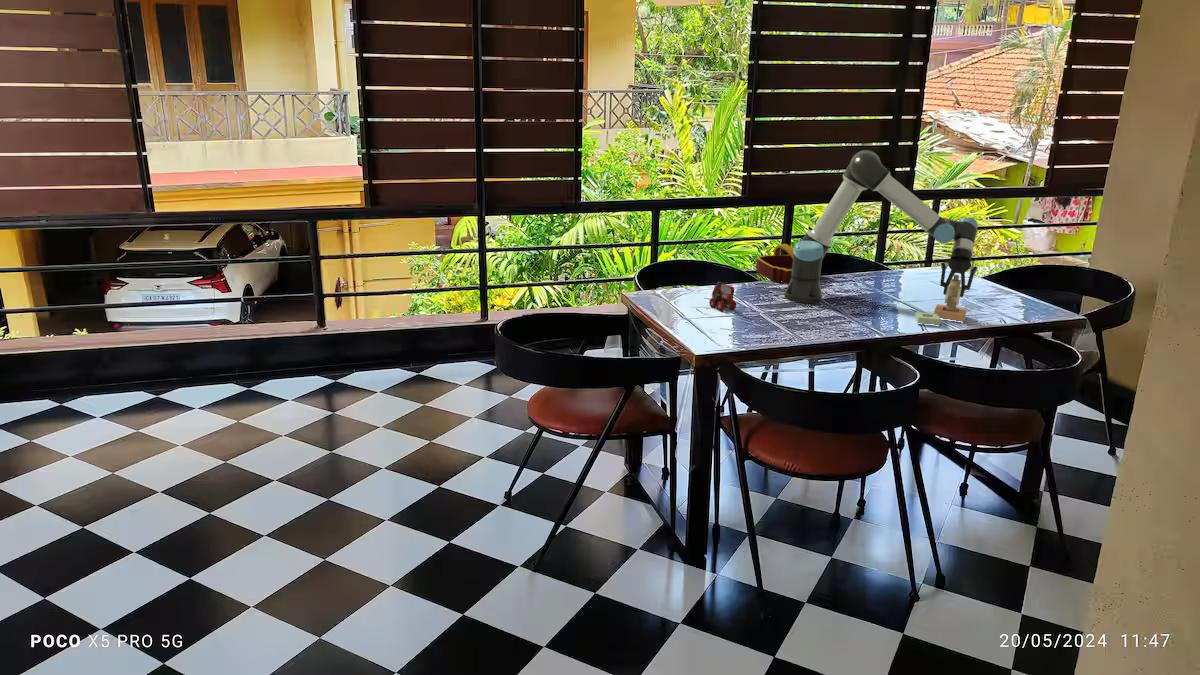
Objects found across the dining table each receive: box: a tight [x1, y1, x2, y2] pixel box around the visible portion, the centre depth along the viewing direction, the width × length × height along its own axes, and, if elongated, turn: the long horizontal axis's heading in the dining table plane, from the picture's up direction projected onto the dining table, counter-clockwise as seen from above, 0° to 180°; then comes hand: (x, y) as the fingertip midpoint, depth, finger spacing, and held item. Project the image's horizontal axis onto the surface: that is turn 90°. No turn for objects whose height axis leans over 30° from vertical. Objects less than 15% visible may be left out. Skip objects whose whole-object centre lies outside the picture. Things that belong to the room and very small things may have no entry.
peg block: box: [946, 274, 961, 312], centre depth 328 cm, size 4×4×15 cm
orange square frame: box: [933, 304, 968, 322], centre depth 331 cm, size 11×11×4 cm
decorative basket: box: [755, 243, 794, 285], centre depth 390 cm, size 34×29×15 cm
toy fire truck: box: [709, 281, 737, 312], centre depth 331 cm, size 7×12×10 cm, turn 27°
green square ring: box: [914, 311, 942, 325], centre depth 323 cm, size 8×8×3 cm
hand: (951, 302), depth 326 cm, fingers closed on peg block, 3 cm apart
